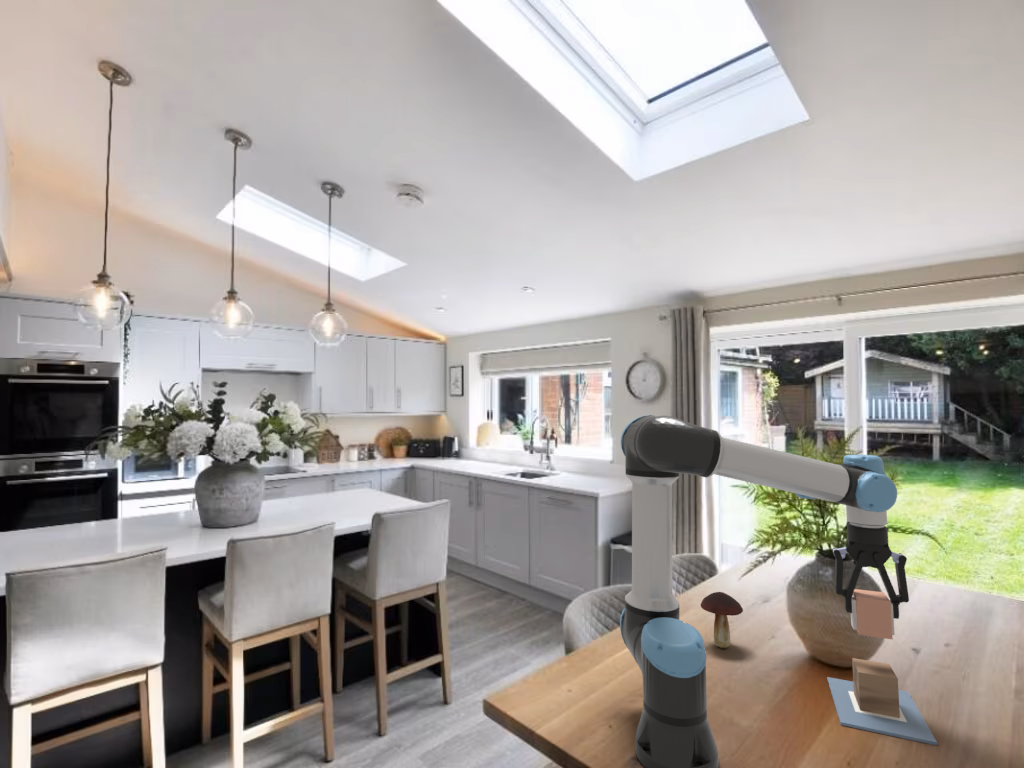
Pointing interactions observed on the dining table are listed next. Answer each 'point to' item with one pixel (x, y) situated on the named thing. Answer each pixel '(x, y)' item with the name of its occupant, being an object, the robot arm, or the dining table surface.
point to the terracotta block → (873, 614)
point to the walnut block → (876, 687)
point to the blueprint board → (880, 715)
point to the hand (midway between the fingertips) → (872, 629)
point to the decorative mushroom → (721, 615)
